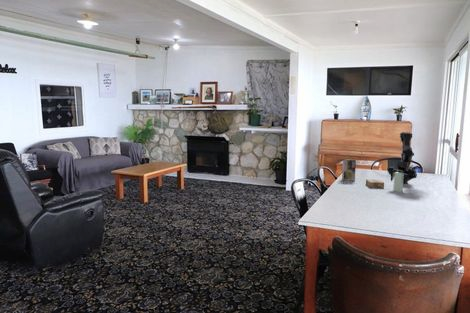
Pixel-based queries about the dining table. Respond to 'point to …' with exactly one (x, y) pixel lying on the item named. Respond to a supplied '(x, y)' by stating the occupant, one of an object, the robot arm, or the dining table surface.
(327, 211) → the dining table surface
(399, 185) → the sage block
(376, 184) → the walnut base block
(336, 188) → the dining table surface
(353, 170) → the coffee box
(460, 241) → the dining table surface
